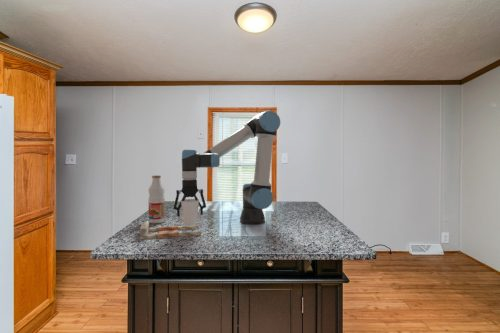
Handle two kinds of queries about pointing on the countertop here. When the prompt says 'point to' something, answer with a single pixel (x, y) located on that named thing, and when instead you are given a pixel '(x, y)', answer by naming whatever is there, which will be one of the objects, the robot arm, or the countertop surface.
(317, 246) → the countertop surface
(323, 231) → the countertop surface
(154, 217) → the fruit juice
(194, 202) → the foam cup
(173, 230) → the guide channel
